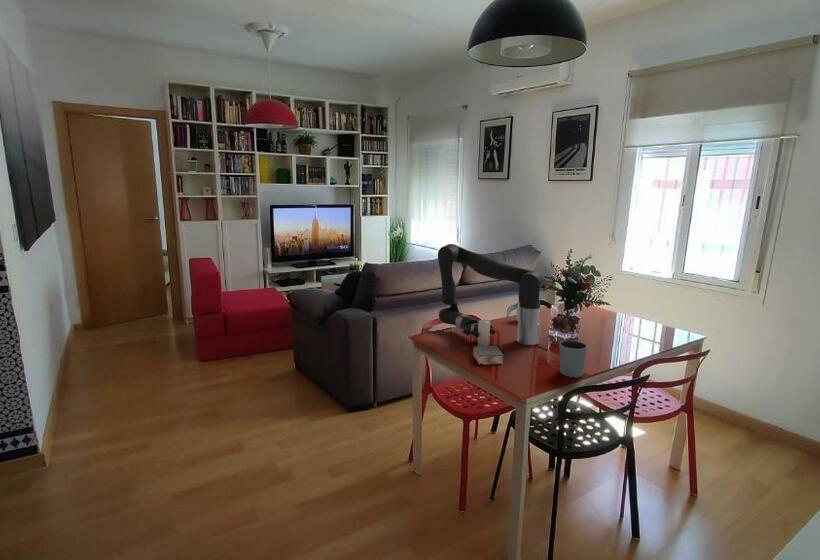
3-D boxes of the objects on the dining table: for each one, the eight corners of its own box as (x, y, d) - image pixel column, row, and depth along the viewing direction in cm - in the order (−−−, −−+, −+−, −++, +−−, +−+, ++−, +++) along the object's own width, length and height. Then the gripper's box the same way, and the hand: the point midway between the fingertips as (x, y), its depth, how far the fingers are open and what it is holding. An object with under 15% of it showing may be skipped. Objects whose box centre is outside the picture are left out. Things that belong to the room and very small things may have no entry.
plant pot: (588, 378, 173) (591, 349, 171) (561, 378, 173) (564, 348, 171) (579, 367, 183) (581, 339, 180) (554, 367, 183) (556, 339, 181)
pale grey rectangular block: (487, 344, 208) (488, 319, 206) (490, 348, 203) (491, 322, 201) (476, 344, 208) (477, 319, 205) (479, 348, 203) (480, 323, 200)
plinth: (495, 354, 196) (496, 345, 195) (502, 363, 187) (503, 354, 186) (473, 355, 195) (473, 346, 194) (478, 364, 186) (479, 355, 185)
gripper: (453, 317, 213) (473, 328, 199) (479, 314, 219) (499, 323, 205) (453, 333, 215) (472, 344, 200) (478, 329, 221) (498, 339, 206)
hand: (486, 333), depth 203 cm, fingers open, 8 cm apart
